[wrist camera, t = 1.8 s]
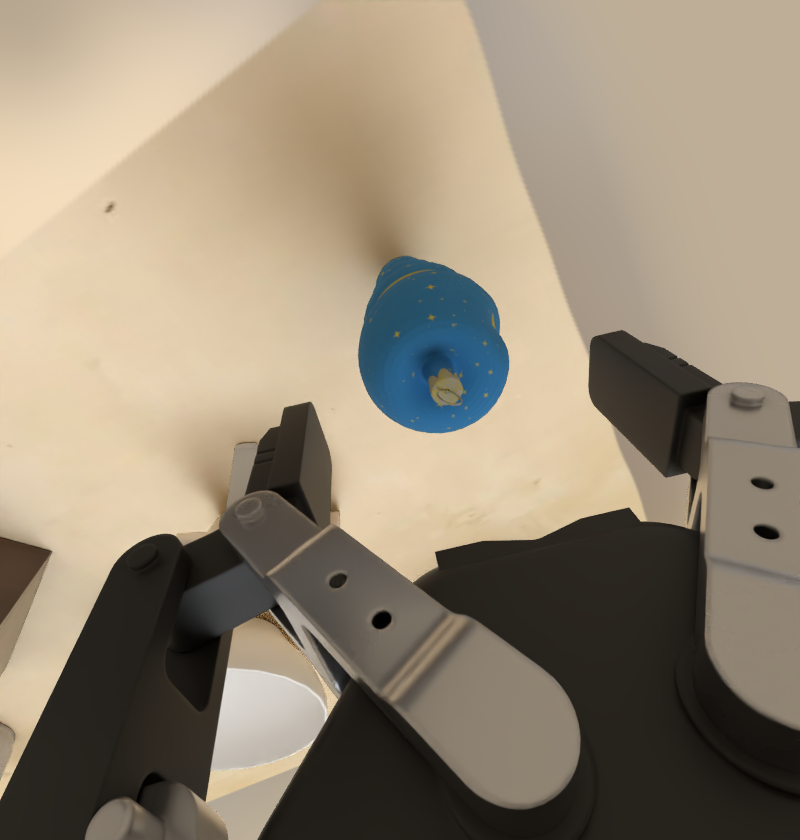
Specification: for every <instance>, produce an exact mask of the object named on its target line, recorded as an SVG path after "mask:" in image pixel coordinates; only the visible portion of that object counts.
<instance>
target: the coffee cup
mask: <svg viewBox="0 0 800 840" xmlns="http://www.w3.org/2000/svg"><path fill="white" fill-rule="evenodd" d="M14 740H15V734H14V733H13V731H12V730H11V729H10V728H8V727H7V726H5V725H3V724H1V723H0V779H1V777H2V775H3V772H4V770H5V767H6V765H7V762H8V760H9V758H10V755H11V753H12V745H13V743H14Z"/></svg>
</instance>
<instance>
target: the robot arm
mask: <svg viewBox="0 0 800 840" xmlns="http://www.w3.org/2000/svg"><path fill="white" fill-rule="evenodd" d="M588 387H589V394H590V398H591V400H592V402H593V404H594V406H595V407H596V408H597V409H598V410H599V411H600V412H601V413H602V414H603V415H604V416H605V417H606V418H607V419H608V420H609V421H610V422H611V423H612V424H613V425H614V426H615V427H616V428H617V429H618V430H619V431H620V432H621V433H622V434H623V435H624V436H625V437H626V438H627V439H628V440H629V441H630V442H631V443H632V444H633V445H634V446H635V447H636V448H637V449H638V450H639V451H640V452H641V453H642V454H643V455H644V456H645V457H646V458H647V459H648V460H649V461H650V462H651V463H652V464H653V465H654V466H655V467H656V468H657V469H658V470H659V471H660V472H661V473H662V474H663V475H664V476H665V477H671V476H675V475H679V474H684V473H688V474H689V475H690V481H689V485H688V494H687V505H686V517H685V527H681V526H676V525H672V524H666V523H658V522H640V520H639V519H638V518H637V517H636V515H635V514H634V513H633V512H632V511H631V509H630V508H625V509H620V510H616V511H612V512H607V513H603V514H599V515H594V516H590V517H586V518H581V519H579V520H577V521H575V522H573V523H571V524H569V525H567V526H565V527H563V528H561V529H559V530H557V531H555V532H552V533H550V534H548V535H546V536H544V537H542V538H540V539H536V540H511V541H481V542H476V543H472V544H468V545H463V546H459V547H455V548H450V549H446V550H442V551H437V552H435V554H436V558H437V563H438V567H437V568H435V569H433V570H431V571H429V572H428V573H426V574H425V575H423V576H421V577H420V578H419V579H417V580H416V581H415V582H414V583H412V582H411V581H409V580H408V579H407V578H405V577H404V576H403V575H401V574H400V573H399V572H397V571H396V570H395V569H393V568H392V567H391V566H390V565H388V564H387V563H386V562H384V561H383V560H382V559H380V558H379V557H378V556H376V555H375V554H374V553H372V552H371V551H370V550H368V549H367V548H366V547H364V546H363V545H362V544H360V543H359V542H358V541H356V540H355V539H354V538H352V537H351V536H350V535H348V534H347V533H346V532H345V531H343V530H342V529H341V528H339V527H338V526H336V525H334V524H332V523H330V513H331V477H332V463H331V457H330V452H329V448H328V445H327V442H326V439H325V437H324V434H323V431H322V428H321V425H320V422H319V420H318V417H317V414H316V411H315V409H314V406H313V404H312V403H311V402H307V403H302V404H298V405H294V406H289V407H285V408H284V411H283V415H282V420H281V424H280V426H279V427H275V428H270V429H269V430H268V432H267V433H266V434H265V435H264V436H263V438H262V439H261V440H260V442H259V445H258V449H257V455H256V456H255V460H254V465H253V467H252V471H251V474H250V478H249V481H248V485H247V489H246V492H245V496H243V497H241V498H240V499H238V500H236V501H235V502H234V503H232V504H231V505H230V506H229V507H228V508H227V509H226V510H225V511H224V513H223V514H222V516H221V518H220V521H219V529H217V530H216V531H214V532H212V533H210V534H208V535H206V536H203V537H201V538H199V539H197V540H195V541H193V542H191V543H188V544H186V545H184V546H183V545H182V543H181V542H180V540H179V539H178V538H177V537H176V536H174V535H171V534H160V535H155V536H152V537H149V538H147V539H145V540H143V541H141V542H139V543H137V544H136V545H134V546H133V547H131V548H130V549H129V550H127V551H126V552H125V553H124V554H123V555H122V556H121V557H120V558H119V559H118V560H117V562H116V563H115V564H114V566H113V568H112V569H111V571H110V573H109V576H108V578H107V580H106V582H105V584H104V586H103V588H102V590H101V592H100V594H99V596H98V598H97V600H96V603H95V605H94V607H93V609H92V611H91V613H90V615H89V617H88V619H87V621H86V623H85V625H84V627H83V630H82V632H81V634H80V636H79V638H78V640H77V642H76V644H75V646H74V648H73V650H72V652H71V654H70V657H69V659H68V661H67V663H66V665H65V667H64V669H63V671H62V673H61V675H60V677H59V679H58V681H57V684H56V686H55V688H54V690H53V692H52V694H51V696H50V698H49V700H48V702H47V704H46V706H45V708H44V711H43V713H42V715H41V717H40V719H39V721H38V723H37V725H36V727H35V729H34V731H33V733H32V735H31V738H30V740H29V742H28V744H27V746H26V748H25V750H24V752H23V754H22V756H21V758H20V760H19V762H18V765H17V767H16V769H15V771H14V773H13V775H12V777H11V779H10V781H9V783H8V785H7V787H6V789H5V792H4V794H3V796H2V798H1V800H0V840H228V833H227V829H226V826H225V823H224V821H223V819H222V817H221V816H220V815H219V814H218V813H217V812H216V811H215V810H214V809H213V808H211V807H210V806H209V805H207V803H205V801H206V795H207V789H208V783H209V777H210V770H211V764H212V758H213V752H214V746H215V740H216V733H217V727H218V721H219V715H220V709H221V702H222V696H223V690H224V684H225V678H226V672H227V665H228V659H229V653H230V647H231V641H232V634H233V629H234V628H235V627H237V626H239V625H241V624H243V623H245V622H247V621H249V620H250V619H252V618H254V617H256V616H258V615H260V614H262V613H264V612H265V611H267V610H268V611H269V612H270V614H271V615H272V616H273V617H274V618H275V620H276V621H277V622H278V623H279V624H280V626H281V627H282V628H283V629H284V630H285V632H286V633H287V634H288V635H289V636H290V638H291V639H292V640H293V641H294V642H295V644H296V645H297V646H298V647H299V648H300V650H301V651H302V652H303V653H304V654H305V656H306V657H307V658H308V659H309V661H310V662H311V663H312V664H313V666H314V667H315V669H316V670H317V671H318V673H319V674H320V676H321V677H322V679H323V680H324V682H325V683H326V684H327V686H328V687H329V688H330V690H331V691H332V692H333V694H334V695H335V696H336V697H337V699H338V701H337V703H336V705H335V706H334V708H333V710H332V711H331V713H330V715H329V717H328V718H327V720H326V722H325V724H324V725H323V727H322V729H321V730H320V732H319V734H318V736H317V737H316V739H315V741H314V742H313V744H312V746H311V748H310V749H309V751H308V753H307V754H306V756H305V758H304V760H303V761H302V763H301V765H300V766H299V769H298V770H297V772H296V773H295V775H294V777H293V778H292V780H291V782H290V784H289V785H288V787H287V789H286V791H285V792H284V794H283V796H282V798H281V799H280V801H279V803H278V804H277V806H276V808H275V809H274V811H273V813H272V815H271V817H270V818H269V820H268V822H267V823H266V825H265V827H264V828H263V830H262V832H261V834H260V836H259V838H258V840H800V401H796V402H788V399H787V398H786V397H785V396H784V395H783V394H782V393H780V392H778V391H777V390H774V389H772V388H769V387H766V386H763V385H759V384H753V383H741V382H736V383H726V384H722V383H720V382H719V381H717V380H715V379H713V378H712V377H710V376H709V375H707V374H705V373H704V372H702V371H700V370H699V369H697V368H696V367H694V366H692V365H689V364H688V363H687V362H686V361H684V360H682V359H681V358H677V356H676V355H674V354H672V353H671V352H669V351H668V350H666V349H664V348H661V347H658V346H655V345H651V344H648V343H643V342H641V341H639V340H638V339H636V338H635V337H633V336H632V335H630V334H628V333H627V332H625V331H623V330H621V331H616V332H612V333H607V334H604V335H599V336H595V337H593V338H592V340H591V344H590V360H589V385H588Z"/></svg>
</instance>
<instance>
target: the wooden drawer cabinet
mask: <svg viewBox="0 0 800 840" xmlns="http://www.w3.org/2000/svg"><path fill="white" fill-rule="evenodd" d="M51 553H52V552H51V551H47V550H43V549H40V548H36V547H32V546H29V545H25V544H21V543H18V542H14V541H10V540H6V539H3V538H0V676H1V675H2V673H3V671H4V670H5V668H6V667H7V664H8V662H9V659H10V657H11V654H12V652H13V649H14V647H15V644H16V642H17V639H18V637H19V634H20V632H21V629H22V627H23V624H24V621H25V619H26V616H27V614H28V611H29V609H30V606H31V604H32V601H33V599H34V596H35V594H36V591H37V589H38V586H39V584H40V581H41V579H42V576H43V573H44V571H45V568H46V566H47V563H48V561H49V558H50V556H51Z"/></svg>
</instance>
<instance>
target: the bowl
mask: <svg viewBox="0 0 800 840" xmlns="http://www.w3.org/2000/svg"><path fill="white" fill-rule="evenodd" d="M327 712H328V709H327V698H326V694H325V691H324V689H323V686H322V683H321V682H320V680H319V678H318V676H317V674H316V672H315V670H314V669H313V667H312V665H311V664H310V663H309V661H308V660H307V659H306V658H305V657H304V656H303V655H302V654H301V653H300V652H299V651H297V650H296V649H295V648H294V647H293V646H292V645H291V644H290V643H289V642H288V640H287V639H286V638H285V637H284V636H283V634H282V632H281V631H280V630H279V629H278V628H277V627H276V626H275V625H274V624H272V623H270V622H268V621H266V620H263V619H260V618H256V617H254V618H252V619H250V620H249V621H247V622H245V623H243V624H241V625H239V626H237V627H235V628H234V629H233V634H232V641H231V647H230V653H229V659H228V665H227V672H226V678H225V684H224V690H223V696H222V702H221V709H220V715H219V721H218V727H217V733H216V740H215V746H214V752H213V758H212V764H211V770H210V771H225V770H235V769H245V768H251V767H255V766H260V765H265V764H269V763H272V762H275V761H278V760H281V759H284V758H287V757H289V756H292V755H293V754H295V753H297V752H299V751H301V750H302V749H304V748H306V747H308V746H309V745H310V744H311V743H312V742H313V741H314V740H315V739H316V737H317V736H318V734H319V732H320V730H321V729H322V727H323V725H324V724H325V722H326V720H327Z"/></svg>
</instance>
